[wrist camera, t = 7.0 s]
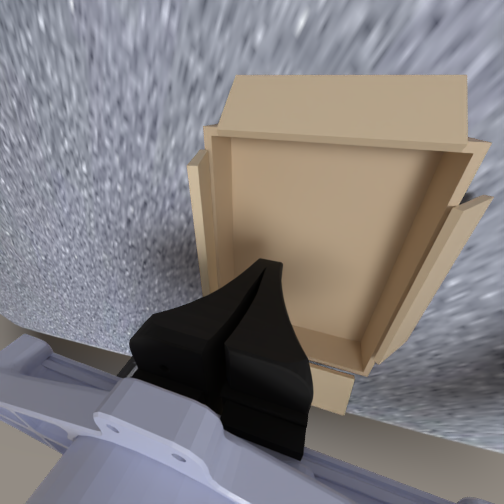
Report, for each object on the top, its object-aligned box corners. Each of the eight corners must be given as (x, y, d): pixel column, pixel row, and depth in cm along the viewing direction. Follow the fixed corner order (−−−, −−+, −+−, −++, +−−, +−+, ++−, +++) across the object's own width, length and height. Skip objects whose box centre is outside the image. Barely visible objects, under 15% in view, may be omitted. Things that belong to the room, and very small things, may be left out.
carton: (549, 77, 9) (644, 64, 7) (392, 350, 19) (402, 395, 16) (224, 76, 13) (191, 68, 10) (232, 310, 23) (216, 340, 20)
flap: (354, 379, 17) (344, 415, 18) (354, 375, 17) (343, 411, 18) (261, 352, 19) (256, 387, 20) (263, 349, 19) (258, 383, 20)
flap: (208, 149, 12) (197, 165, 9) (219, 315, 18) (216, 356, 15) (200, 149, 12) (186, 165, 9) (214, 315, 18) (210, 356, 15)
